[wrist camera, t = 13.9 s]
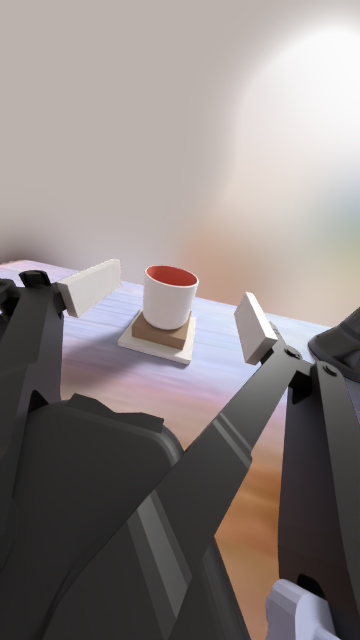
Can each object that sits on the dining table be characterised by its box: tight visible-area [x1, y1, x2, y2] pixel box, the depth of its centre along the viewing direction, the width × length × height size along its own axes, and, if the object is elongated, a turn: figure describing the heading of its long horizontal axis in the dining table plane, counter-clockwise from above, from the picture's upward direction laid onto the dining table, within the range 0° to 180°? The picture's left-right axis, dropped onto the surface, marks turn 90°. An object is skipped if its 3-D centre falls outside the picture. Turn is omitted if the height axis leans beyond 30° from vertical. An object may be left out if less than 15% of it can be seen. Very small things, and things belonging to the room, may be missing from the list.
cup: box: [143, 265, 199, 330], centre depth 29 cm, size 10×10×10 cm
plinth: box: [118, 308, 196, 365], centre depth 33 cm, size 15×15×4 cm
